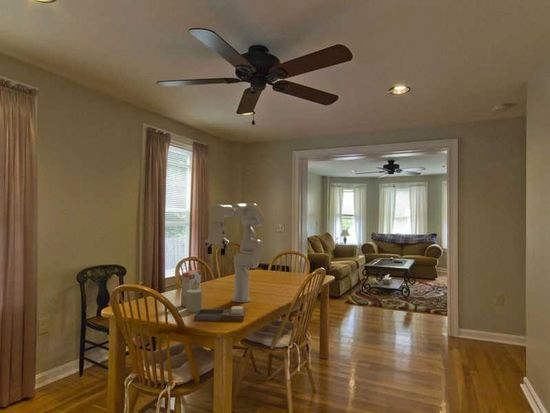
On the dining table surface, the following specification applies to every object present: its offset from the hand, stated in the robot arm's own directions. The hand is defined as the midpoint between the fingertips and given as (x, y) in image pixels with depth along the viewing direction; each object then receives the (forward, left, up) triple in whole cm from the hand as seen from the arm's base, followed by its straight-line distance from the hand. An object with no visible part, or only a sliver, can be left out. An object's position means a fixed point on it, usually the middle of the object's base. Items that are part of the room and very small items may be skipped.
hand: (216, 254), depth 202 cm
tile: (+10, +14, -31) cm, 35 cm away
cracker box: (-17, -18, -34) cm, 42 cm away
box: (+10, -1, -34) cm, 35 cm away
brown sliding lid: (+10, +12, -34) cm, 37 cm away
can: (-4, -13, -34) cm, 36 cm away
